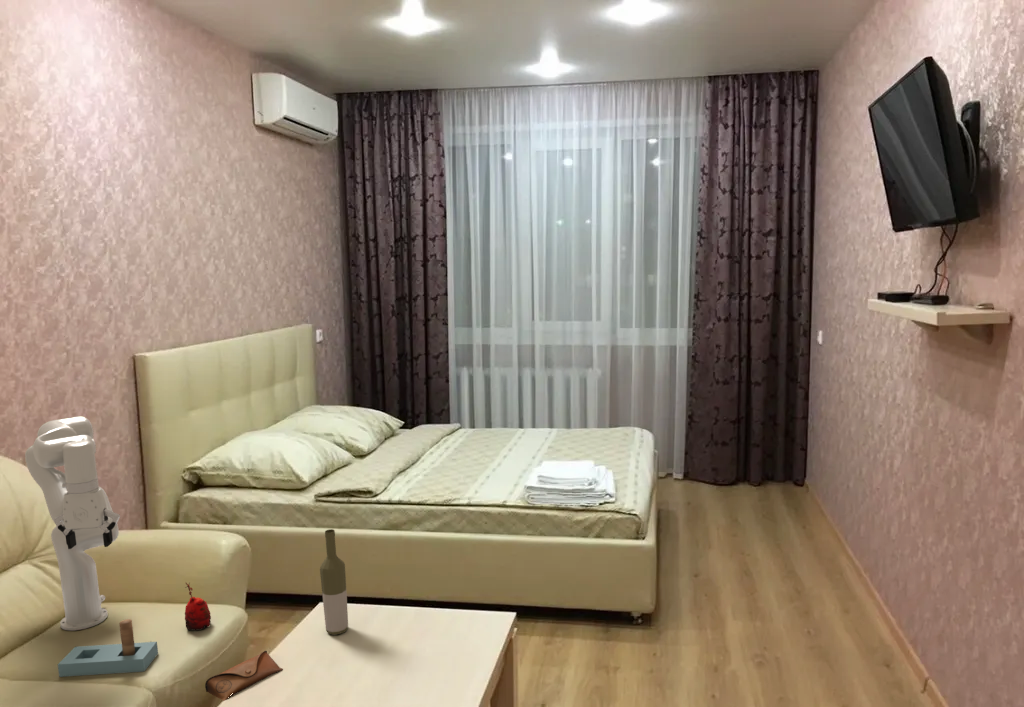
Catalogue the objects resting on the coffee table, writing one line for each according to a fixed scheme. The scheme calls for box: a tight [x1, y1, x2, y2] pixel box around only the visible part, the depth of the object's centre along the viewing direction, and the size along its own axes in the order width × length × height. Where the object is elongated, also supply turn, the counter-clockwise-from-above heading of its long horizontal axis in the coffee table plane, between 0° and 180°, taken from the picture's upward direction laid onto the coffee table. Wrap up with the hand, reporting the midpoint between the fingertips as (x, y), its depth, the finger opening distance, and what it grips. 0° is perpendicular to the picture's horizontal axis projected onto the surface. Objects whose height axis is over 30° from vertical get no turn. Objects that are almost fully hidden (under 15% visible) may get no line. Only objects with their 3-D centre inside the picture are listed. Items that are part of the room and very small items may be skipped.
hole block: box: [57, 641, 159, 678], centre depth 206 cm, size 9×22×4 cm, turn 93°
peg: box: [118, 618, 136, 656], centre depth 206 cm, size 3×3×12 cm
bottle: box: [319, 528, 349, 636], centre depth 218 cm, size 7×7×30 cm
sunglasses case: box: [204, 650, 284, 702], centre depth 197 cm, size 18×7×7 cm
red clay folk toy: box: [184, 581, 212, 631], centre depth 225 cm, size 8×7×15 cm
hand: (90, 546), depth 211 cm, fingers open, 9 cm apart
